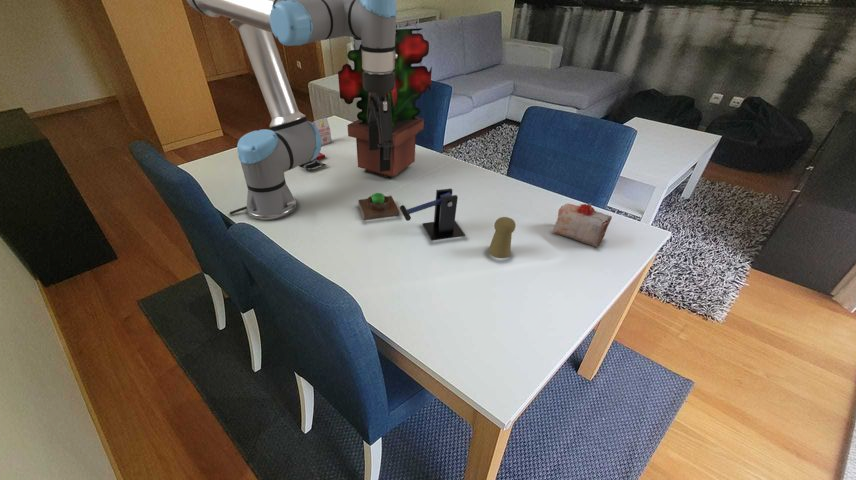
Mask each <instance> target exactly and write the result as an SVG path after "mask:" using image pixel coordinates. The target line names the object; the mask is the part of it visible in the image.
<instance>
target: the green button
mask: <svg viewBox="0 0 856 480" xmlns="http://www.w3.org/2000/svg"><path fill="white" fill-rule="evenodd" d="M384 195H385V194H384V193H381V192H375V193H373V194H371V196H372V202H373V203H376V204H379V203H383V202H384V201H385V198H384Z"/></svg>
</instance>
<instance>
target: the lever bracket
mask: <svg viewBox="0 0 856 480" xmlns="http://www.w3.org/2000/svg"><path fill="white" fill-rule="evenodd" d="M448 192H449V193H450V194H451V195H452V196H444V197H441V204H438V205H435V206H434V213H433V214H434V215H433V221H429V222H423V223H422V226H423V228H424V230H425V232H426V233H427V235H428V237H429V239H430V240H431V242H434V241H440V240H446V239H447V240H448V239H454V238H459V237H460V238H461V237H465V236H466V234H465V233H464V231H463V230H462V228H461V227H460V226H459V224H458V223H457V221H456V213H457V207H458V196H459V195H457V194H453V189H452V188H444V189H436V192H435V200H437V199H440V195H442V194H445V193H448Z"/></svg>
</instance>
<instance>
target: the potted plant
mask: <svg viewBox="0 0 856 480" xmlns="http://www.w3.org/2000/svg"><path fill="white" fill-rule="evenodd" d="M422 30H423V28H422V27H421V28H417V27H416V28H396V32H395V54H397V58H396V59H395V69H394V70H393V72H394V73H395V88H394V90H392V91H391V92H387V93H386V98H387V99H388V101H390V102H391V105H390V109H391V123H392V135H393V146H392V147H391V161H390V171H381V172H380V171H379V150H369V127H368V126H370V125H369V124H368V120H367V118H366V117H367V107H368V92H367V91H365V90H364V89H363V72H364V70H363V69H362V43H360V45H359V47H358V49H351V50H349V51H348V52H347V55H346V56H347V59H348V60H349V61H352V62H353V68H352V66H351V64H349V63H344V64H343V65H342V68H341V69H340V70H339V71H337V78H338V91H339V99H342V100H343V101H344V103H345V104H346V105H352V104H353V103H354V100H355V99H360V100H357V101H356V104H355V105H356V108H357V109H358V110H361V111H359V112H357V114H356V118H357V120H355V121H353V122H351V123H349V124H347V136H348V137H349V138H353V139H355V141H356V142H355V143H356V155H357V156H356V157H357V158H356V160H357V168H359V169H363V170H364V171H365V172H366V173H369V174H373V175H377V176H380V177H385V178H387V179H393V178H395V177H396V176H398V174H399V175H400V173H402V172H403V171H405V170H406V169H407V168H408V167H409V166H410V165H412V164H414V163H415V162H416V141H417V134H419V133H420V132H423V131H424V127H425V124H424V123H425V118H422V117H418V116H419V115H420V113H421V109H420V108H419V107H417V106H416V101H417V100H419V99H420V98H421V96H422V94H424V93H426V92H427V90H428V91H429V92H431V89H432V73H433V67H432V66H431V67H430V69H428V67H427V66H425V65H418V64H421V63H422V61H423V60H424V58H425V57H427V56H428V55H429V53H430V42H429V41H428V40H427V39H425V38H424V36H423V34H422V33H420V32H417V33H413V32H416V31H422ZM352 38H353V39H354V40H355V41H356V40H357V41H361V38H356V37H352ZM412 65H413V66H412ZM414 65H417V66H414ZM385 112H386V111H385ZM376 125H378V124H376ZM379 144H380V137H379Z"/></svg>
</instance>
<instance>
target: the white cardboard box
mask: <svg viewBox="0 0 856 480" xmlns="http://www.w3.org/2000/svg"><path fill="white" fill-rule="evenodd" d="M312 123H313V124H314V125H315V127H317V129H318V131H319V133H320V136H321V147H322V146H325V145H328V144H332V142H333V141H332V134H331V127H330V124H329V120H328V117H324V118H320V119H316V120H313V121H312Z"/></svg>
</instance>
